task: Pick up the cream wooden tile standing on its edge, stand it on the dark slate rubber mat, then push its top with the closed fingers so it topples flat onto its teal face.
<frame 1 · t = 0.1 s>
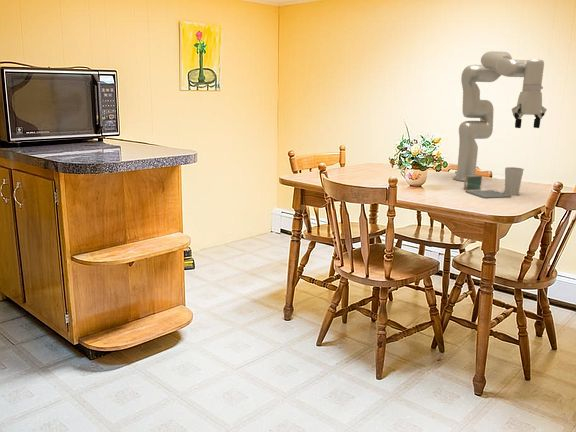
hand: (527, 127, 239), 31 cm above the table, fingers open, 9 cm apart
cup: (511, 194, 251), on the table
tile: (472, 189, 260), on the table
mat: (488, 194, 248), on the table
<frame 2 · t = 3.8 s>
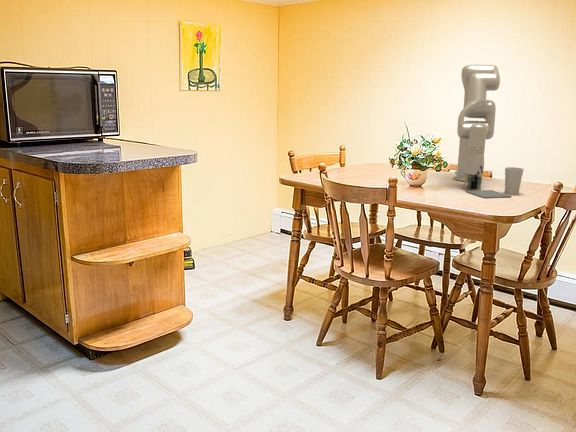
hand: (472, 188, 260), 1 cm above the table, fingers closed on tile, 1 cm apart
tile: (472, 189, 260), on the table, touching gripper
everything else where it was.
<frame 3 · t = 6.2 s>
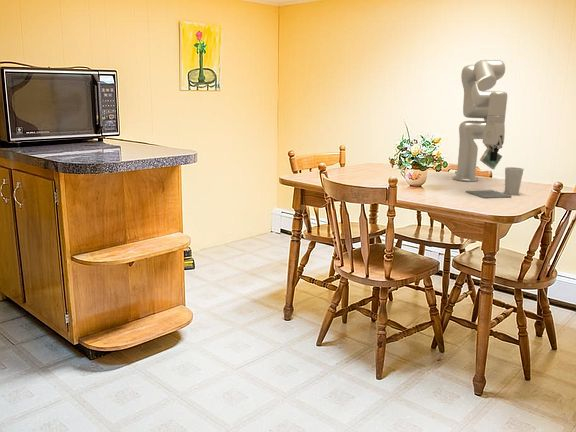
hand: (491, 160, 244), 16 cm above the table, fingers closed on tile, 1 cm apart
tile: (486, 164, 244), point 14 cm above the table, tilted 31°, touching gripper
everything else where it was.
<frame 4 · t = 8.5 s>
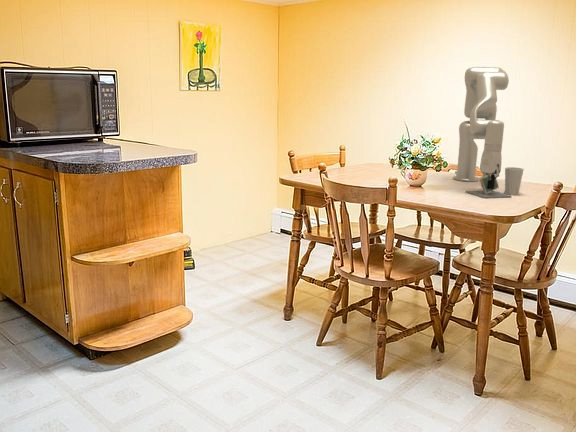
hand: (488, 188, 247), 3 cm above the table, fingers closed on tile, 2 cm apart
tile: (482, 186, 246), point 4 cm above the table, tilted 64°, touching gripper, mat
everything else where it was.
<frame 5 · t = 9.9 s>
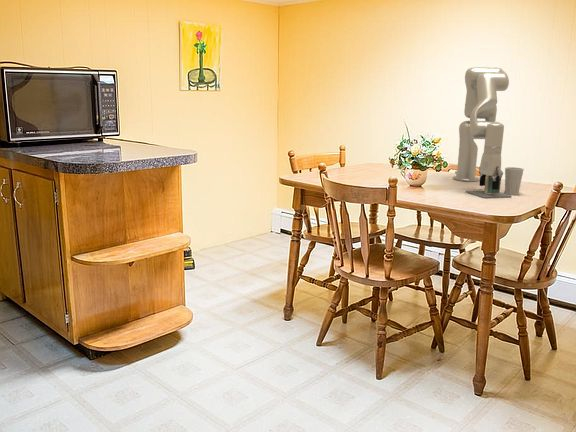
hand: (488, 187, 247), 3 cm above the table, fingers open, 9 cm apart
tile: (485, 185, 246), point 5 cm above the table, tilted 90°, touching mat
everything else where it was.
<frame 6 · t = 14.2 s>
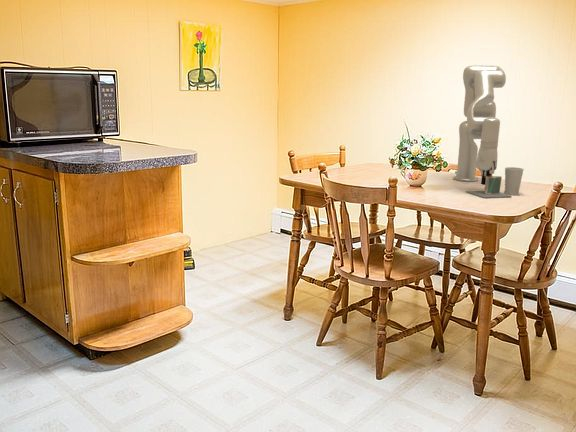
hand: (484, 184, 250), 4 cm above the table, fingers closed
tile: (486, 185, 246), point 5 cm above the table, tilted 90°, touching gripper, mat
everything else where it was.
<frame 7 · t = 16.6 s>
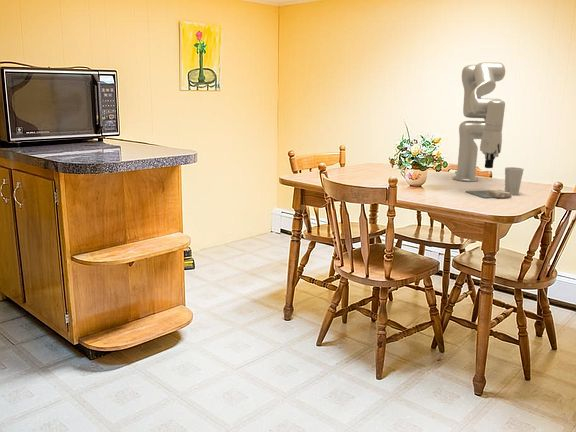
hand: (488, 167, 247), 12 cm above the table, fingers closed
tile: (491, 193, 242), point 2 cm above the table, tilted 90°, touching mat
everything else where it was.
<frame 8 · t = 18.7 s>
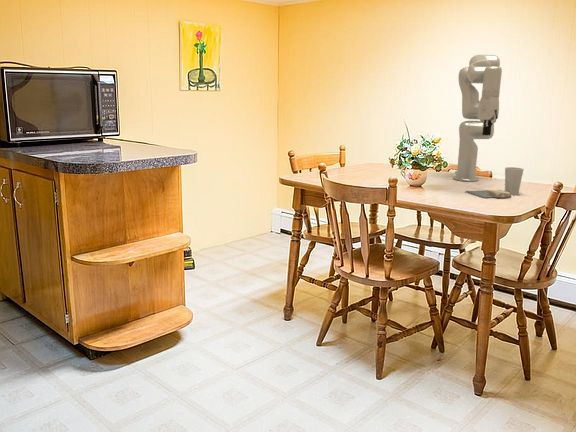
hand: (486, 135, 247), 27 cm above the table, fingers closed
nothing on the table moved.
at the end: tile tilted 90°; tile inside the target area on the mat (5.6 cm from its centre), point 1.5 cm above the mat's base; the gripper is holding nothing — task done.
